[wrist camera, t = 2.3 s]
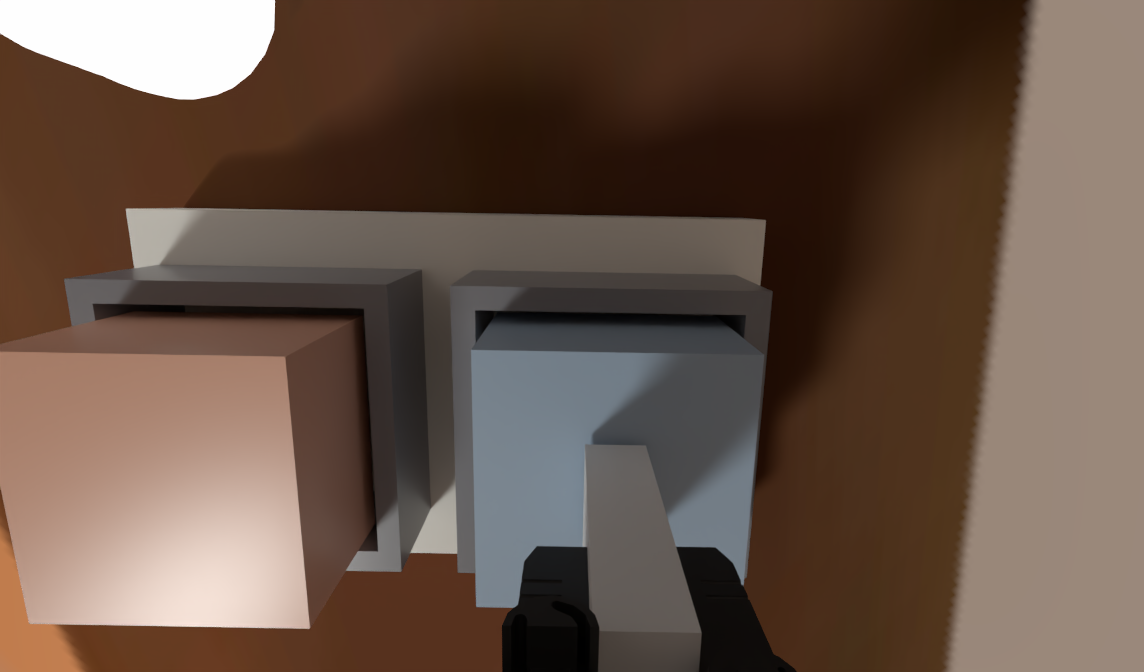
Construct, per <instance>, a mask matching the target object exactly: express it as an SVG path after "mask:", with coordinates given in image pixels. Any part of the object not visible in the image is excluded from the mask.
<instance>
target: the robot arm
mask: <svg viewBox="0 0 1144 672" xmlns="http://www.w3.org/2000/svg"><path fill="white" fill-rule="evenodd" d="M502 667H503V672H796V670H795V669H794V668H793V667H792V666H790V665H789V664H788V663H786V662H785V661H784V660H782V659H781V658H780V657H778V656H776V655H774V654H773V652H772V650H771V648H770V645H769V643H768V641H767V639H766V636H765V634H764V632H763V630H762V627H761V625H760V623H759V620H758V618H757V616H756V614H755V611H754V609H753V607H752V605H751V602H750V600H748V596H747V593H746V591H745V589H744V587H743V585H741V580H740V578H739V575H738V573H737V571H736V569H735V566H734V564H733V563H732V562H731V561H730V560H729V559H728V558H727V557H726V556H725V555H724V554H722V553H721V552H720V551H719V550H718V549H717V548H716V547H676V545H675V542H674V538H673V535H672V532H671V528H670V525H669V521H668V518H667V515H666V511H665V508H664V505H663V501H662V498H661V495H660V491H659V488H658V485H657V481H656V478H655V474H654V471H653V468H652V464H651V461H650V458H649V454H648V451H647V448H646V445H592V444H585V460H584V503H583V547H562V546H536V548H535V549H534V550H533V551H532V552H531V554H530V555H529V556H528V557H527V558H526V560H525V561H524V566H523V573H522V582H521V587H520V595H519V601H518V605H517V606H516V607H514V608H513V609H512V610H511V611H510V612H509V613H508V614H507V616H506V618H505V620H504V623H503V625H502Z"/></svg>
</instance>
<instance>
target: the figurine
mask: <svg viewBox="0 0 1144 672" xmlns="http://www.w3.org/2000/svg"><path fill="white" fill-rule="evenodd" d="M274 14H275V0H0V33H1V34H3V35H4V36H6V37H8V38H9V39H11V40H13V41H14V42H16V43H18V44H20V45H21V46H23V47H25V48H28V49H30V50H32V51H35V52H37V53H40V54H43V55H46V56H48V57H51V58H54V59H57V60H60V61H62V62H65V63H68V64H71V65H74V66H77V67H79V68H82V69H85V70H87V71H90V72H93V73H95V74H99V75H102V76H104V77H106V78H109V79H111V80H113V81H116V82H118V83H120V84H123V85H126V86H129V87H131V88H134V89H137V90H141V91H144V92H148V93H152V94H156V95H160V96H165V97H170V98H175V99H199V98H204V97H208V96H214V95H217V94H220V93H222V92H224V91H227V90H229V89H231V88H233V87H235V86H236V85H237V84H238V83H240V82H241V81H242V80H243V79H245V78H246V77H247V76H248V75H250V74H251V73H252V71H253V70H254V68H255V67H256V66H257V64H258V63H259V62H260V60H261V59H262V58H263V56H264V55H265V53H266V50H267V48H268V45H269V42H270V40H271V37H272V35H273V32H274Z"/></svg>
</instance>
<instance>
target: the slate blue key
mask: <svg viewBox="0 0 1144 672" xmlns="http://www.w3.org/2000/svg"><path fill="white" fill-rule="evenodd" d="M763 364H764V354H762V353H761V352H760V351H759V350H757V349H756V348H755V347H754V346H752V345H751V344H750V343H749V342H747V341H746V340H745V339H744V338H742V337H741V336H740V335H739V334H737V333H736V332H735V331H734V330H732V329H731V328H730V327H729V326H727V325H726V324H725V323H724V322H722V321H721V320H720V319H719V318H718V317H716V316H681V315H624V314H567V313H511V312H497V314H496V315H495V316H494V318H493V319H492V321H491V322H490V324H489V325H488V326H487V328H486V329H485V331H484V332H483V334H482V335H481V336H480V338H479V339H478V341H477V342H476V344H475V345H474V346H473V348H472V349H471V372H472V421H473V470H474V519H475V568H476V607H508V608H514V607H516V606H517V605H518V601H519V595H520V587H521V582H522V573H523V566H524V561H525V560H526V558H527V557H528V556H529V555H530V554H531V552H532V551H533V550H534V549H535V548H536V546H562V547H583V503H584V460H585V444H592V445H646V448H647V451H648V454H649V458H650V461H651V464H652V468H653V471H654V474H655V478H656V481H657V485H658V488H659V491H660V495H661V498H662V501H663V505H664V508H665V511H666V515H667V518H668V521H669V525H670V528H671V532H672V535H673V538H674V542H675V545H676V547H716V548H717V549H718V550H719V551H720V552H721V553H722V554H724V555H725V556H726V557H727V558H728V559H729V560H730V561H731V562H732V563H733V564H734V566H735V569H736V571H737V573H738V575H739V578H740V580H741V585H744V574H745V563H746V552H747V541H748V530H749V519H750V507H751V496H752V485H753V474H754V463H755V452H756V441H757V430H758V419H759V408H760V397H761V386H762V375H763Z"/></svg>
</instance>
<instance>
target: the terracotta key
mask: <svg viewBox="0 0 1144 672" xmlns="http://www.w3.org/2000/svg"><path fill="white" fill-rule="evenodd" d="M0 487H1V491H2V496H3V501H4V506H5V511H6V515H7V520H8V525H9V530H10V535H11V539H12V544H13V549H14V554H15V559H16V563H17V568H18V573H19V578H20V582H21V587H22V592H23V597H24V601H25V606H26V611H27V616H28V621H29V624H79V625H136V626H193V627H250V628H307V629H310V628H311V626H312V624H313V623H314V621H315V620H316V618H317V616H318V615H319V613H320V612H321V610H322V608H323V607H324V605H325V603H326V602H327V600H328V599H329V597H330V595H331V594H332V592H333V591H334V589H335V587H336V586H337V584H338V583H339V581H340V579H341V578H342V576H343V574H344V573H345V571H346V570H347V568H348V566H349V565H350V563H351V562H352V560H353V558H354V557H355V555H356V553H357V552H358V550H359V549H360V547H361V545H362V544H363V542H364V541H365V539H366V537H367V536H368V534H369V533H370V531H371V529H372V528H373V526H374V524H375V511H374V494H373V478H372V461H371V444H370V428H369V411H368V395H367V378H366V362H365V345H364V329H363V315H313V314H256V313H200V312H143V311H133V312H129V313H125V314H121V315H117V316H113V317H109V318H104V319H100V320H96V321H92V322H88V323H84V324H80V325H76V326H72V327H68V328H64V329H60V330H56V331H52V332H48V333H44V334H40V335H36V336H32V337H28V338H23V339H19V340H15V341H11V342H7V343H3V344H0Z"/></svg>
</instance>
